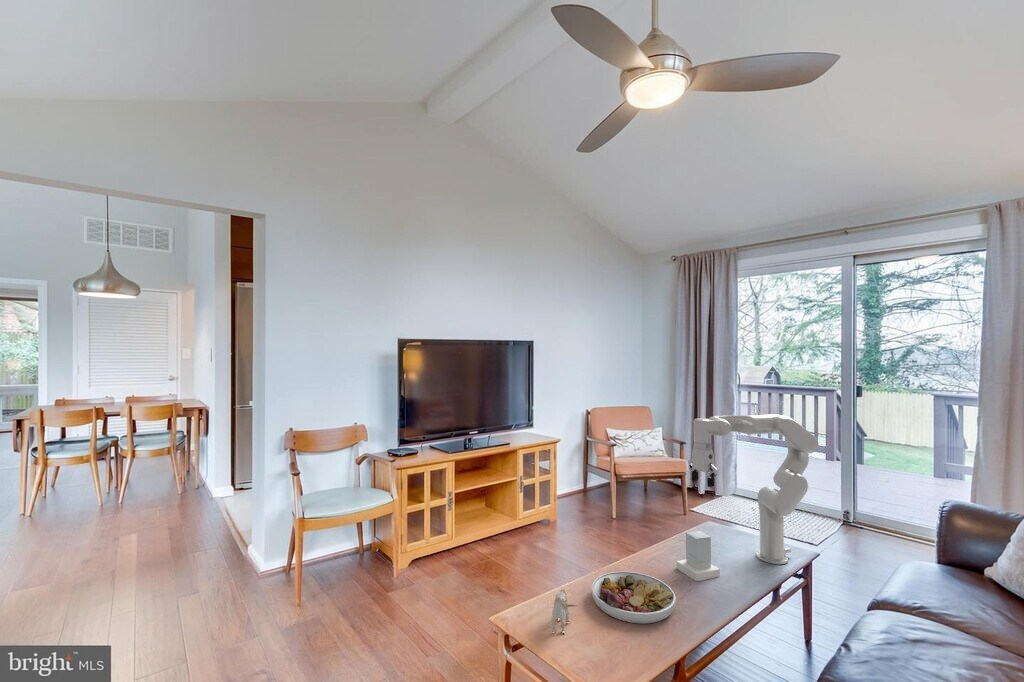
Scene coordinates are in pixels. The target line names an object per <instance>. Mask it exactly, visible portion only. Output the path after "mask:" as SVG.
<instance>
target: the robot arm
mask: <svg viewBox="0 0 1024 682" xmlns="http://www.w3.org/2000/svg"><path fill="white" fill-rule="evenodd" d="M731 432H735V433H741V434H746V435H769V434H770V435H771V434H773V435H774V434H778V435H781V436H783V437H784V442H785V445H786V446H787V455H786V457H785V459H784V460H783V462H782V463H781V464H780V466H779V467H778V468H777V471H776V472H775V473H774V475H773V478H772V479H773V480H772V481H773V483H774V484H775V485H776V486H777V487H778V488H780V489H777V488H775V487H772V486H764V487H762V488H760V490H759V491H758V493H757V505H758V509H759V510H758V512H759V550H757V551H755V555H756V556H755V557H756V558H757V559H759V560H760V561H763V562H765V563H767V564H774V565H785V564H788V562H789V558H788V557H787V556H786V555H787V554H789V553H791V552H792V549H791V548H790V547H786V548H785V541H784V540H785V536H784V535H785V534H784V533H785V531H784V530H785V529H784V528H785V519H784V517H788V516H790V515H791V514H792V513H793V512H794V511H795V510H796V508H797V507H798V506H799V504H801V501H802V500H803V498H804V497H805V495H806V494H807V493H808V488H809V483H808V480H807V478H806V477H804V475H803V474H804V472H805V470H806V468H807V467H808V465H809V461H810V460H809V459H810V457H809V454H813V453H815V452H816V451H818V448H819V441H818V438H817V437H816V436H815V435H814V434H813V433H811V432H810V431H809V430H808V429H806V428H805V427H804V426H803V425H801V424H800V423H799V422H797V421H796V420H795V419H793V418H791V417H790V416H786V415H781V414H776V413H775V414H759V415H758V414H756V415H755V414H753V415H714V416H710V417H709V418H705V417H703V418H702V417H699V418H694V420H693V448H692V452H691V459H690V460H688V461H687V464H688V466H689V469H690V472H691V481H692V482H696V481H699V472H698V471H700V472H703V473H705V474H706V475H707V480H706V481H707V482H706V483H707V487H708V488H711V487H712V488H713V487H714V486H715V478H716V476H718V475H717V474H718V471H719V469H718V468H717V467H716V464H715V456H714V455H715V454H714V450H712V448H713V445H712V436H719V437H725V436H728V435H730V433H731Z"/></svg>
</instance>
